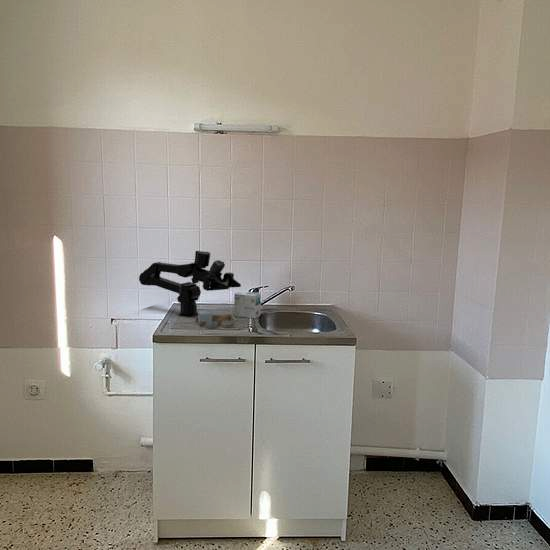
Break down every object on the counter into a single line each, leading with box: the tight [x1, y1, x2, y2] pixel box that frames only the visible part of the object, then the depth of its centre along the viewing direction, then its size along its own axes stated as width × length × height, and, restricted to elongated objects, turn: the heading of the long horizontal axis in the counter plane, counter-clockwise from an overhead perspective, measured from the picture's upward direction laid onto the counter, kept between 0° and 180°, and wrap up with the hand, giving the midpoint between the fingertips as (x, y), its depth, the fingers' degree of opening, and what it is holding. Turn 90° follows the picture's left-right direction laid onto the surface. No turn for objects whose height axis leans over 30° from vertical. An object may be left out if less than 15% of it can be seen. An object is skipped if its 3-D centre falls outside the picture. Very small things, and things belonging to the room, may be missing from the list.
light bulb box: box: [233, 290, 262, 319], centre depth 220 cm, size 11×7×11 cm, turn 71°
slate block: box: [197, 310, 213, 326], centre depth 206 cm, size 5×5×5 cm
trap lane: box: [195, 314, 238, 330], centre depth 206 cm, size 16×14×2 cm
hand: (234, 286), depth 206 cm, fingers open, 9 cm apart
